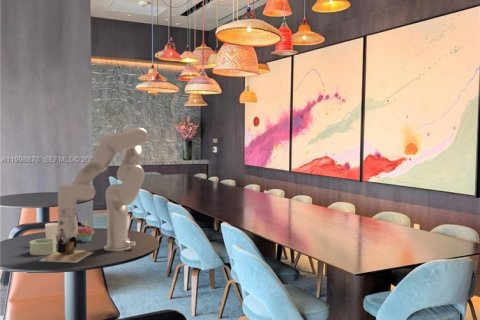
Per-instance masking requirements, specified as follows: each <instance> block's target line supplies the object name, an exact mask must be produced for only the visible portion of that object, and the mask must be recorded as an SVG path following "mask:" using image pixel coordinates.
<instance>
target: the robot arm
mask: <svg viewBox="0 0 480 320" xmlns="http://www.w3.org/2000/svg"><path fill="white" fill-rule="evenodd" d="M148 138H149V134H148V132H147V130H146V129H145V128H143V127H127V128H124V129H123V130H122V132H120V133H119V132H118V133H108V134H105V135H104V136H103V137H102V139H101V140H100V142H99V144H98V145H97V148H96V149H95V151H94V153H93V155H92V156H91V158H90V160H89V161H88V162H87V163H86V164H85V165H84V166H83V167H82V169H80V171H79V172H78V173H77V175H76V176H75V178H74V180H73V181H72V183H70V184H69V183H68V184H67V183H66V184H65V183H64V184H60V185H58V187H57V216H58V220H57V223H58V233H57V235H56V239H57V244H56V245H57V251H58V253H65V252H66V250H65V244H64V243H65V242H66V240H67V239H68V242H74V249H75V248H77V238H78V235H77V234H78V230H79V226H78V217H77V201H78V200H79V201H88V200H89V201H90V200H92V199H93V198H94V197H95V196H96V193H97V192H96V188H95V186H94V185H93V184H91V183H92V181H93V180H94V179H95V177H97V176H98V175H100V174H101V173H103V172H104V171H106V170H107V169H109V168H108V167H109V166H110V164H111V162H112V161H113V159H114V157H115V155H116V153H118V152H124V151H125V152H124V155H123V158H122V160H121V162H120V165H119V167H118V169H117V172H116V177H117V180H118V181H119V182H121V183H113V184H111V185H108V187H107V188H106V191H105V201H106V203H105V204H106V210H107V211H106V212H107V216H106V217H107V219H106V225H107V226H106V227H107V228H106V234H107V236H106V237H107V239H106V243H107V244H106V245H104V247H103V250H104V251H108V252H122V251H127V250H131V247H132V246H133V247H135V246H136V241H135V240H134V241H133V240H132V241H131V240H130V238H129V235H128V234H129V232H128V228H129V227H128V224H129V223H128V218H129V217H128V216H129V215H128V214H129V213H128V212H129V211H128V206H130V205H132V204H133V203H134V202H135V200H136V198H137V197H138V194H139V192H140V190H141V187H142V186H143V183H144V180H145V175H146V173H145V170H144V168H143V167H142V165H141V161H142V159H143V154H144V153H143V148H142V146H143V145H144V144H145V143H146V142H147V141H148Z"/></svg>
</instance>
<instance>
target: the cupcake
mask: <svg viewBox="0 0 480 320" xmlns="http://www.w3.org/2000/svg"><path fill="white" fill-rule="evenodd" d="M84 223H85V224H84V225H85V226H84V227H81V228H78V234H77V236H78V237H79V239H80V242H83V243H86V242H91V240H92V237H93V235H94V233H95V231H94V230H95V229H93V228H92V227H89V226H88V220H87V219H85V222H84Z"/></svg>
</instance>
